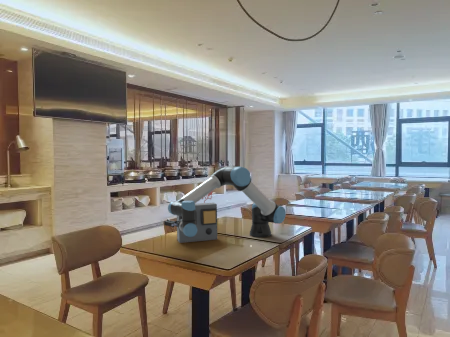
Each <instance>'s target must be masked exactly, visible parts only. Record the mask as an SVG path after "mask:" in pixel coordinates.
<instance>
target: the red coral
mask: <svg viewBox="0 0 450 337" xmlns="http://www.w3.org/2000/svg"><path fill="white" fill-rule="evenodd" d="M213 191H214V190H213ZM213 191H211V192H210V193H209V194H207V195H206V196H205V197H203V198H202V199H201V200H203V199H204V200H203V203H206V202H205V201H207V200H208V199H209V200H211V199H212V198H213V197H212V196H213Z"/></svg>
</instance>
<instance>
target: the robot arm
mask: <svg viewBox="0 0 450 337" xmlns="http://www.w3.org/2000/svg"><path fill="white" fill-rule="evenodd" d="M223 186H233V187H234V188H235V189H236V190H237V191H238V192H242V193H243V194H244V195H245V196H246V197H247V198H248V199H250V201H252V205H251V227H250V230H249V236H251V237H256V238H267V237H270V236H272V230H271V228H270V224H269V223H272V224H282V223H283V222H284V220H285V219H286V214H287V213H286V212H287V211H286V209H285V207H283V206H282V205H278V204H277V203H276V202H275V201H274V200H270V199H269V198H268V197H267V196H266V195H265V194H264V193H263V192H262V191H261V190H260V189H259V188H258V186H257V185H256V184H254V182H252V176H251V173H250V171H249V169H248V168H246V167H245V166H244V167H243V166H224V167H221V168H220V169H218V170H216V171H214V173H212V174H211V175H209V178H207V179H206V180H205V181H203V182H202V183H201V184H199V185H198V186H197V187H195V188H193V189H192V190H191V191H189V192H188V193H186V194H184V196H182V197H181V198H179V199H178V200H176V201H171V202H170V203H169V204H168V205H167V210H168V212H169V213H170V214H171V215H173V216H176V217H177V216H182V219H181V220H180V221H177V220H170V218H168V217H166V220H164V222H163V224H164V225H163V226H167V227H170V228H174V227H176V228H177V227H178V228H179V229H180V230H181V231H182V232H183V233H184V235H186V236H188V237H193V236H195V235H196V233H197V227H196V223H197V219H196V218H195V204H197V203H198V202H199V201H201V200H203V199H204V198H205V197H207V196H208V194H209V193H210V192H211V191H214V190H216V189H220V188H221V187H223ZM206 195H207V196H206ZM203 197H204V198H203ZM202 198H203V199H202Z"/></svg>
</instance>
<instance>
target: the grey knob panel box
mask: <svg viewBox="0 0 450 337" xmlns="http://www.w3.org/2000/svg"><path fill="white" fill-rule="evenodd" d="M210 210H215V211H216V223H207V224H204V223H203V211H210ZM195 218H196V219H197V223H196V227H197V233H196V235H195V236H193V237H188V236H186V235H184V233H183V232H182V231H181V230H180V229H179V228H178V227H176V238H177V242H178V243H179V244H180V243H183V244H184V243H191V242H202V241H203V242H204V241H212V240H214V241H215V240H218V203H215V202H205V203H204V202H203V203H202V202H201V203H195ZM181 219H182V216H177V215H176V221H180V220H181Z"/></svg>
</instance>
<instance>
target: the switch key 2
mask: <svg viewBox="0 0 450 337" xmlns="http://www.w3.org/2000/svg"><path fill="white" fill-rule="evenodd" d="M203 223H204V224H207V223H216V211H215V210H210V211H203Z"/></svg>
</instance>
